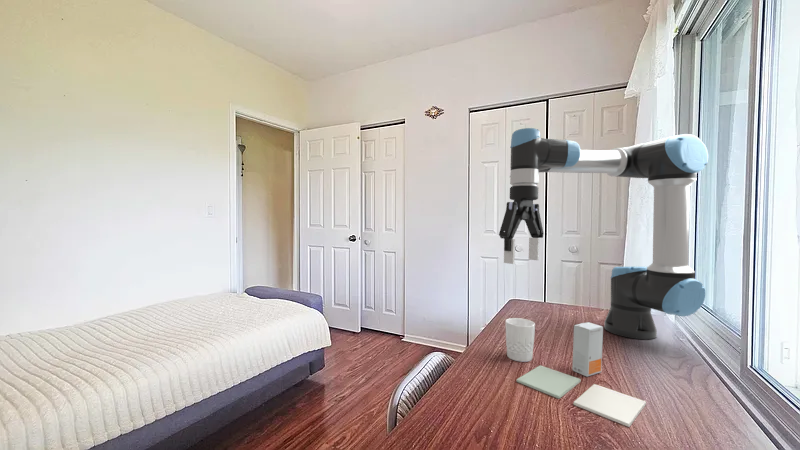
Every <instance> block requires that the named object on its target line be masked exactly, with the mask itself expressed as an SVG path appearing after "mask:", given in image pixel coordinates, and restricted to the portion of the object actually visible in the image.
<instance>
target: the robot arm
mask: <svg viewBox="0 0 800 450" xmlns="http://www.w3.org/2000/svg"><path fill="white" fill-rule="evenodd" d="M708 161H709V152H708V148H707V146H706V145H705V143H704V142H703V141H702V140H701V139H700V138H699V137H698V136H696V135H693V134H689V133H684V134H678V135H670V136H668V137H664V138H660V139H657V140H653V141H648V142H644V143H638V144H636V145H635V144H634V145H632V146H626V147H614V148H611V149H610V150H600V149H599V150H598V149H597V150H596V149H581V146H580V144H579V143H578V142H577V141H575V140H569V139H557V138H556V139H555V138H544V137H543V138H542V137H541V132H540V130H539V129H537V128H532V127H526V128H520V129H517V130H515V131H513V133H512V134H511V140H510V173H509V174H510V175H509V178H510V180H509V184H510V185H511V186H510V187H509V200H511V201H507V202H506V209H505V213H504V217H503V219H502V223H501V226H500V230H499V233H498V235H499V237H500V239H503V240H504V242H503V244H504V245H503V264H509V265H510V264H512V265H515V256H516V255H515V253H516V252H515V251H516V238H515V239H514V237H515V235H516V233H517V230H518V229H519V225H520V223H521V222H522V221H524V222H525V224H526V228H527V229H528V232H529V235H530V237H529V239H528V261H529V260H530V261H539V258H540V255H539V254H540V238H541V239H542V238H543V237H544V228H543V224H542V223H543V222H542V219H541V214H540V204H539V203H534V201H537V200H538V199H539V186H537V185H539V183H540V177H539V176H540V173H566V174H567V173H569V174H571V173H573V174H574V173H575V174H607V175H608V176H609V177H614V178H615V177H619V178H620V177H621V178H631V179H647V183H648V184H649V185H651V186H652V187H653V213H652V214H653V220H652V221H653V223H652V227H653V230H652V263H651V264H650V265H648V266H614V267H613V268H612V270H611V277H610V308H609V309H608V313H607V315H606V318H605V320H604V324H603V325H604V326H603V329H604V330H606V331H607V332H609V333H611V334H614V335H618V336H620V337H625V338H629V339H630V338H631V339H636V340H653V339H656V338H657V336H658V335H657V334H658V333H657V332H658V331H657V327H656V324H655V322H654V319H653V315H652V310H655V311H659V312H662V313H665V314H667V315H669V316H670V315H673V316H676V317H682V318H684V317H689V316H692V315H694V314H695V313H697V312H698V310H700V308H701V307H702V306H703V305H704V302H705V299H706V288H705V286H703V283H702V282H701V281H699V280H698V279H695V278H696V277H695V275H696V272H695V270H694V269H693V268H691V267H690V266H689V246H690V245H689V239H690V235H689V234H690V193H691V192H690V191H691V190H690V188H691V187H690V186H691V185H693V183H695V182H696V181H697V178H698V177H697V176H698V175H697V174H698V173H699V172H701V171H703V170H704V169H705V168H706V166H707V164H708Z"/></svg>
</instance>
